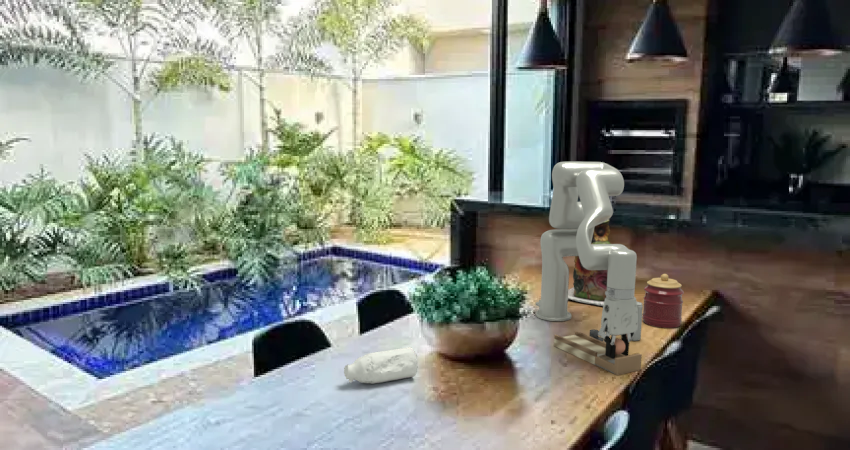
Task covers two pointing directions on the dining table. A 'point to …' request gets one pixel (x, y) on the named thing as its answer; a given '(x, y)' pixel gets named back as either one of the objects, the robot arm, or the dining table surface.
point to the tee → (595, 334)
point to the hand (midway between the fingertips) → (616, 355)
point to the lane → (582, 346)
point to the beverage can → (637, 334)
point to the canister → (663, 302)
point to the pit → (620, 363)
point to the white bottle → (383, 366)
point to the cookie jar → (591, 274)
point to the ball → (619, 346)
